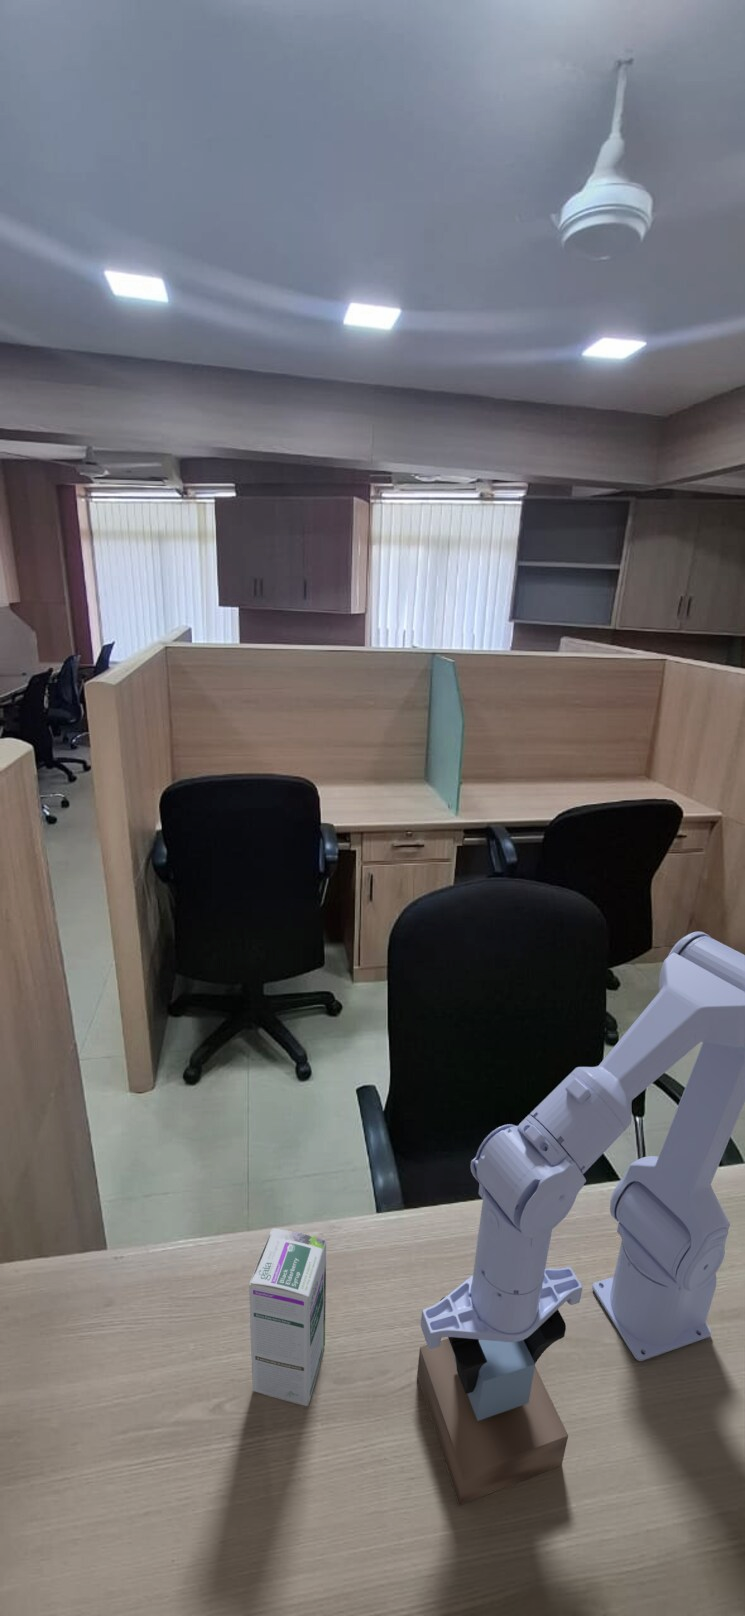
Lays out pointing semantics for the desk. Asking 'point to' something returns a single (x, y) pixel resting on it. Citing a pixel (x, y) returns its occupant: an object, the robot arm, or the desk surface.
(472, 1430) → the walnut block
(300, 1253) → the syrup box
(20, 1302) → the desk surface
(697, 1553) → the desk surface
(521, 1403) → the blue cube
